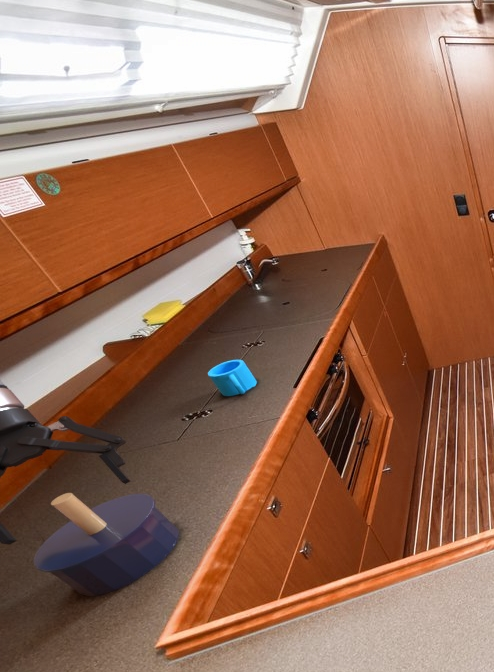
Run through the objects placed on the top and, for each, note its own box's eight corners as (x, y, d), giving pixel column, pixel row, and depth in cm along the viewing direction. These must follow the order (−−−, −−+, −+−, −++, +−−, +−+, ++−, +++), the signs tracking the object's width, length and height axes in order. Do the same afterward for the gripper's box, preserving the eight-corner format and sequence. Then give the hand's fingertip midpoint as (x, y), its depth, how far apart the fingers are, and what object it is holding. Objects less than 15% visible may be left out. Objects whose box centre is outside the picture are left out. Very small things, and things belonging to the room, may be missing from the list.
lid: (26, 551, 73) (-21, 517, 68) (140, 486, 85) (106, 453, 80) (54, 589, 68) (4, 556, 63) (171, 514, 79) (137, 481, 74)
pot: (68, 575, 78) (29, 548, 73) (163, 516, 89) (134, 488, 84) (94, 610, 73) (55, 582, 68) (192, 542, 83) (163, 514, 79)
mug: (220, 390, 125) (205, 369, 121) (253, 376, 130) (240, 356, 126) (229, 406, 118) (213, 385, 114) (263, 391, 124) (250, 370, 120)
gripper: (-162, 466, 60) (-64, 573, 61) (89, 374, 79) (162, 457, 80) (-128, 475, 66) (-37, 573, 66) (101, 386, 84) (170, 464, 85)
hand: (72, 510), depth 73 cm, fingers open, 13 cm apart
